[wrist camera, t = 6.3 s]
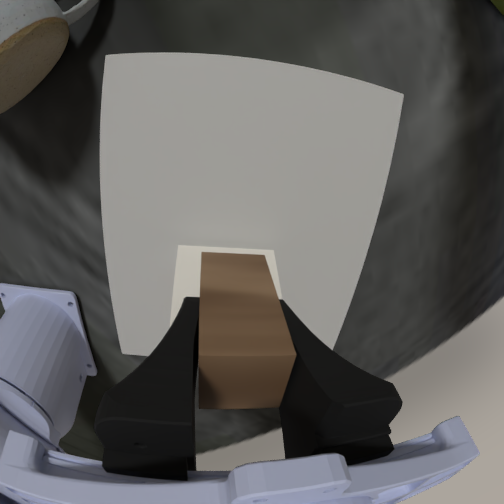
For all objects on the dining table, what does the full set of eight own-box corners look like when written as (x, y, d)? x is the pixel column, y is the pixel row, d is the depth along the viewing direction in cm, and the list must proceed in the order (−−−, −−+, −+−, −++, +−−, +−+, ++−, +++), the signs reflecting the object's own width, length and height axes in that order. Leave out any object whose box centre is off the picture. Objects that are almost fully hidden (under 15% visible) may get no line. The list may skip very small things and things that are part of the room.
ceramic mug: (19, 120, 14) (-59, 143, 7) (-29, 53, 10) (-101, 56, 4) (140, -3, 12) (101, -56, 5) (76, -60, 8) (29, -107, 2)
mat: (328, 353, 26) (329, 356, 26) (122, 350, 24) (122, 353, 23) (400, 94, 16) (403, 94, 16) (108, 55, 13) (105, 55, 13)
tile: (269, 263, 21) (284, 359, 16) (178, 259, 20) (169, 358, 15) (273, 250, 20) (290, 349, 15) (178, 245, 19) (168, 347, 14)
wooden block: (256, 304, 16) (279, 407, 11) (199, 302, 16) (198, 408, 10) (264, 254, 15) (296, 354, 9) (201, 251, 14) (198, 355, 9)
